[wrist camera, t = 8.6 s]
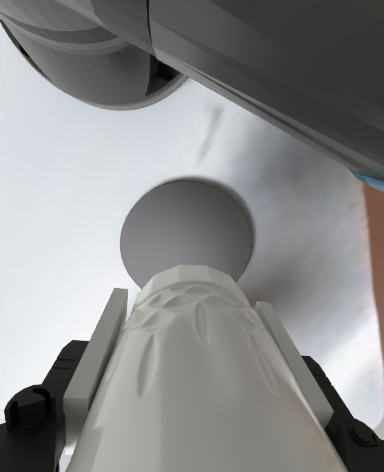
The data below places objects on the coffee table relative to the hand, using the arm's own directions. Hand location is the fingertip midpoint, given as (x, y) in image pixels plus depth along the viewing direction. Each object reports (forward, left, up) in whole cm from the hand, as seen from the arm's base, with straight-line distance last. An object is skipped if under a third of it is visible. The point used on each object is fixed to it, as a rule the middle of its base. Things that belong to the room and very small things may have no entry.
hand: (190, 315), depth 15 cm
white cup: (0, 0, 0) cm, 0 cm away
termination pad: (0, 0, -11) cm, 11 cm away
